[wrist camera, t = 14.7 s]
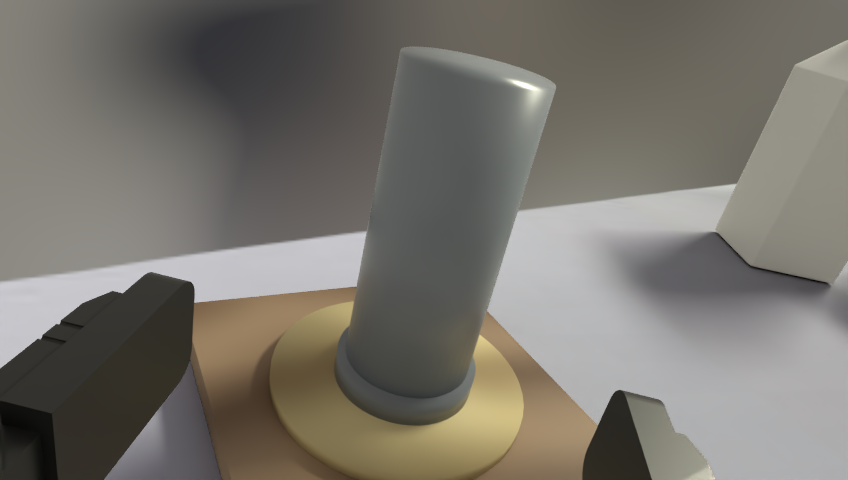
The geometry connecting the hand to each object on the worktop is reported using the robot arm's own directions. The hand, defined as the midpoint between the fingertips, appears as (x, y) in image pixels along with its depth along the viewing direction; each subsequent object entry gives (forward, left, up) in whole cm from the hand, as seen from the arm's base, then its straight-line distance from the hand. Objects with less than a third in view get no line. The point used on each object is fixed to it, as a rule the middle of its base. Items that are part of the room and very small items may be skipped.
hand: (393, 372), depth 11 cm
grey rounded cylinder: (+8, -6, -8) cm, 12 cm away
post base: (+8, -6, -9) cm, 13 cm away
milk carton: (+15, -46, -10) cm, 49 cm away
